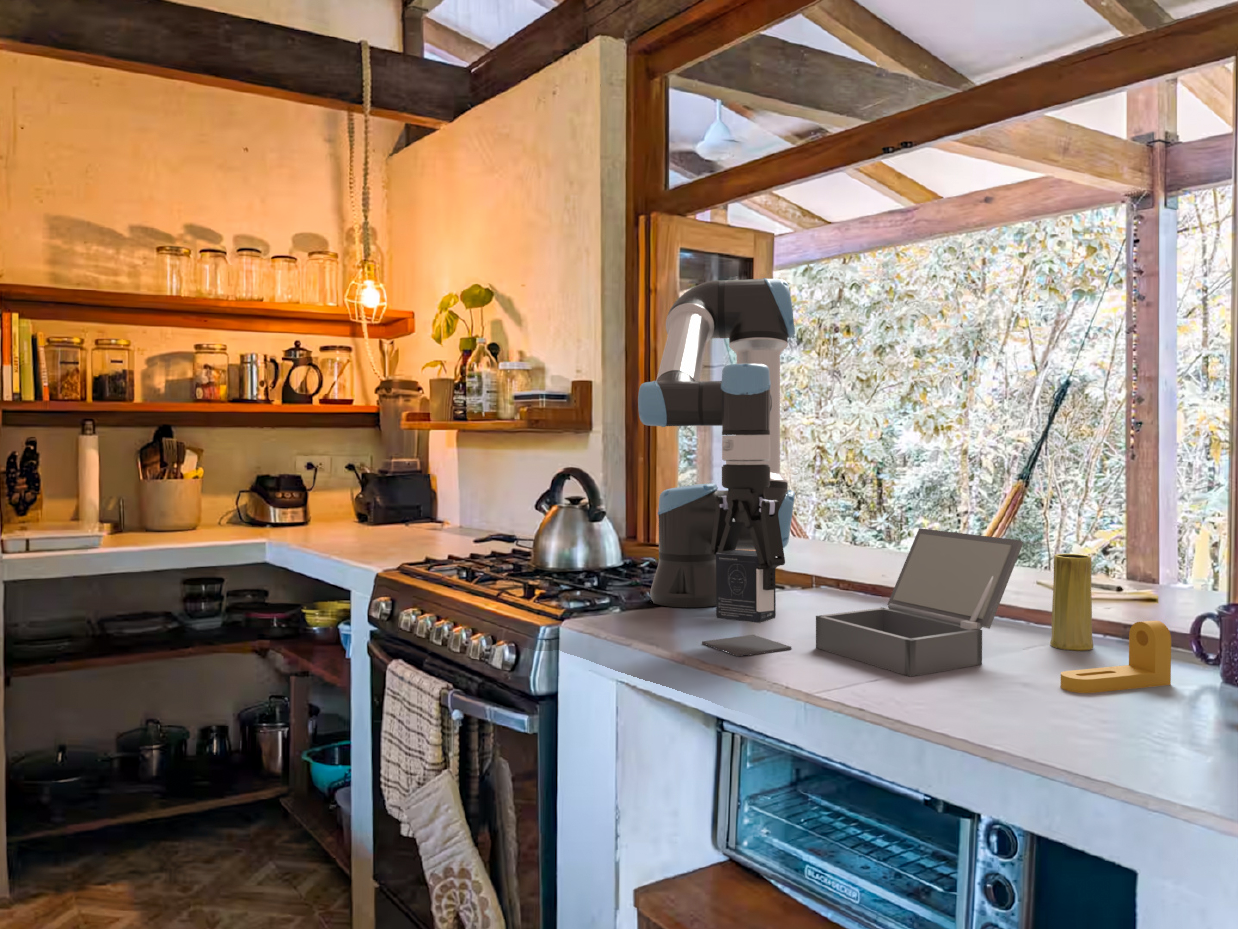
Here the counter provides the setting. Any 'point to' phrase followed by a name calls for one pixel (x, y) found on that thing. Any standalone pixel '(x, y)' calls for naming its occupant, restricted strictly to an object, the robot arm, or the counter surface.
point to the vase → (1072, 603)
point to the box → (738, 587)
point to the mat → (746, 645)
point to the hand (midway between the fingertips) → (746, 605)
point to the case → (929, 607)
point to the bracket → (1143, 669)
